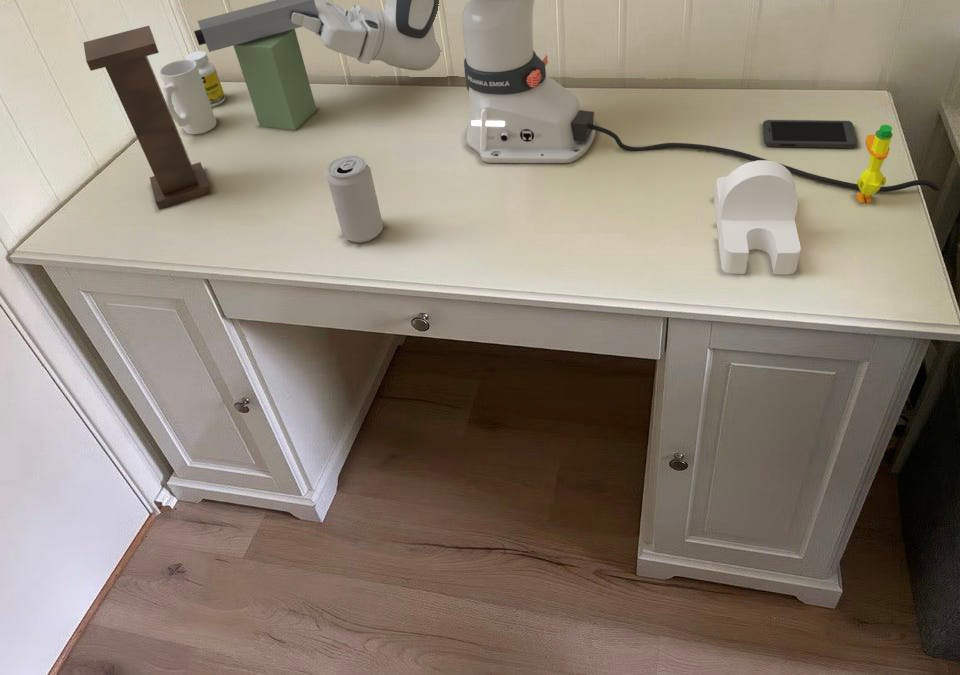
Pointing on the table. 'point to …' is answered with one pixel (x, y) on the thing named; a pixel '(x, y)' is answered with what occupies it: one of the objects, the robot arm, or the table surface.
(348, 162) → the beverage can
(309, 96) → the block
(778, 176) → the white notched rounded piece
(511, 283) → the table surface
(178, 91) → the mug
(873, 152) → the toy figure
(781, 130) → the cell phone
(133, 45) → the stand
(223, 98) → the supplement bottle
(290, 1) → the gray rectangular bar
